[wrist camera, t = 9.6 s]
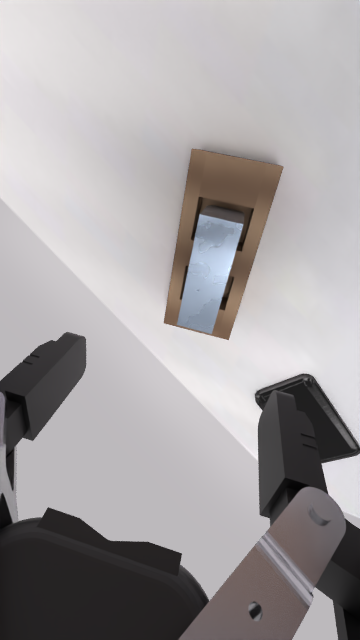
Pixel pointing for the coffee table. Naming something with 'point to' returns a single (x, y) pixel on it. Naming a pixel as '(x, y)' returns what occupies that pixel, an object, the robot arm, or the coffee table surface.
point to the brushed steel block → (209, 266)
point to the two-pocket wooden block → (233, 193)
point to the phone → (316, 416)
